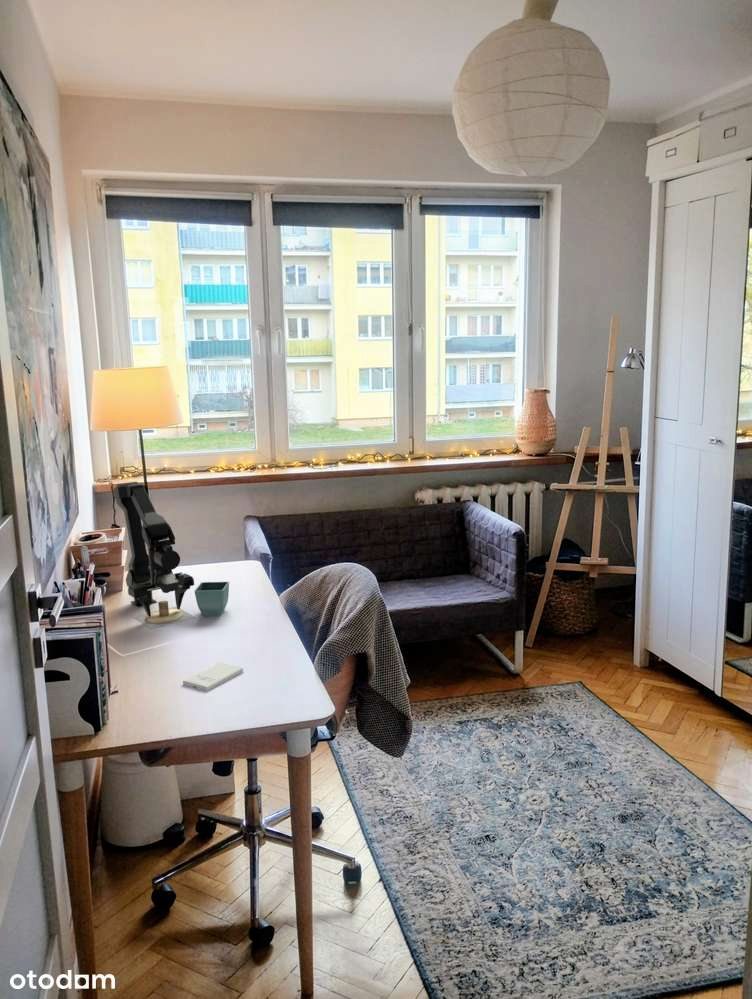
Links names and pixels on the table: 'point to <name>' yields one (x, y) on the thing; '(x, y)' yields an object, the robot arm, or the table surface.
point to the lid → (164, 614)
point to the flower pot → (212, 597)
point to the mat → (151, 625)
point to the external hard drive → (213, 676)
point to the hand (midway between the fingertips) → (164, 612)
